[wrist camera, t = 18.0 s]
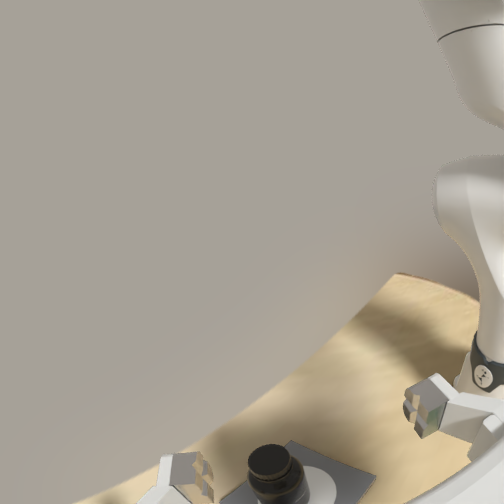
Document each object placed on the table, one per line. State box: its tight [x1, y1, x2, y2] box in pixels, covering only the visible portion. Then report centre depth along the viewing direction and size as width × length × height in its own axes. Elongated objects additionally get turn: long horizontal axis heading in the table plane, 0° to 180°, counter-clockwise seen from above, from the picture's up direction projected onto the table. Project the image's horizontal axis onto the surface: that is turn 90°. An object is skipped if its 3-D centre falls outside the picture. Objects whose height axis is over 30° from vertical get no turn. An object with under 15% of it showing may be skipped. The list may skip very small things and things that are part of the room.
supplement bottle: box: [247, 444, 310, 504], centre depth 26 cm, size 7×7×12 cm
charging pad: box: [219, 440, 376, 504], centre depth 28 cm, size 16×16×1 cm
